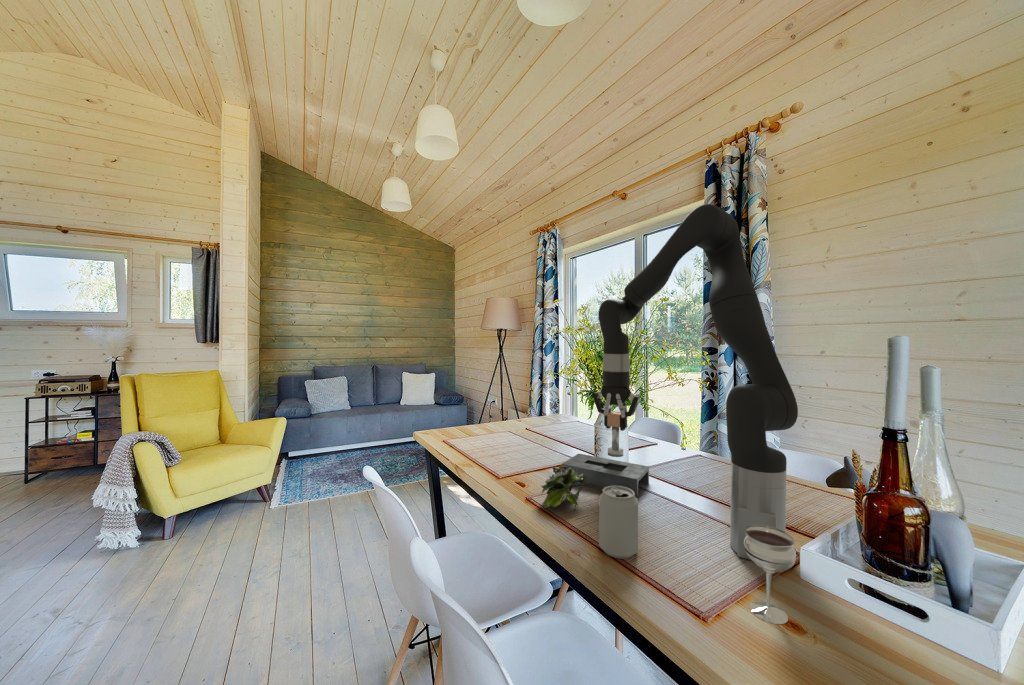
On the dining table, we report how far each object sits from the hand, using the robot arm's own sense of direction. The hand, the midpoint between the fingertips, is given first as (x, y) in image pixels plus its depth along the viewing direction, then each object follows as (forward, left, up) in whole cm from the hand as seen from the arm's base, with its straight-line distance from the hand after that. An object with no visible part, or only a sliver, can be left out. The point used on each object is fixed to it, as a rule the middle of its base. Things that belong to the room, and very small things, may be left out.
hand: (615, 428), depth 111 cm
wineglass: (-37, -37, -16) cm, 55 cm away
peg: (0, 0, -7) cm, 7 cm away
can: (-33, -12, -16) cm, 39 cm away
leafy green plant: (-20, +6, -16) cm, 27 cm away
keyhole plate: (0, +3, -16) cm, 16 cm away
